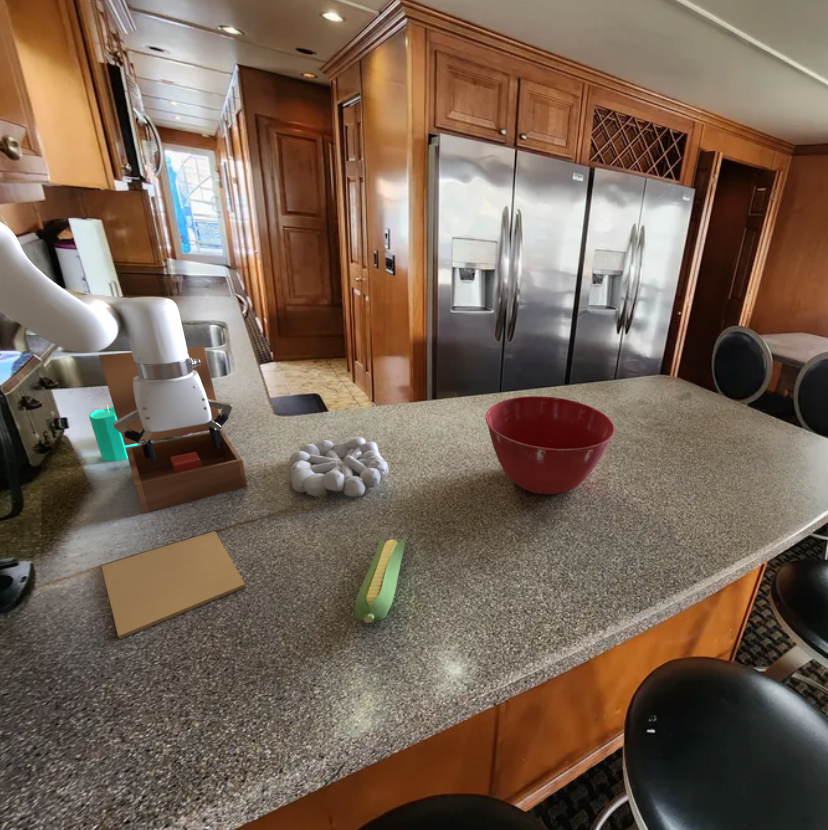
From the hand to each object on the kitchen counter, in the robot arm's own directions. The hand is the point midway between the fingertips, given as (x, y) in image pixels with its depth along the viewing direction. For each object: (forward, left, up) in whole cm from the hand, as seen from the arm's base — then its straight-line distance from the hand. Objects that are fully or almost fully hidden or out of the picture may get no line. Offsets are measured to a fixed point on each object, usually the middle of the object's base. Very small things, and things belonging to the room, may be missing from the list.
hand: (186, 453), depth 88 cm
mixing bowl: (+64, +32, -7) cm, 72 cm away
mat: (+20, -19, -7) cm, 28 cm away
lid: (-8, +4, +9) cm, 13 cm away
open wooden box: (0, 0, -7) cm, 7 cm away
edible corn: (+50, -9, -7) cm, 51 cm away
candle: (-21, +2, -7) cm, 22 cm away
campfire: (+23, +14, -7) cm, 27 cm away
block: (0, 0, -6) cm, 6 cm away
